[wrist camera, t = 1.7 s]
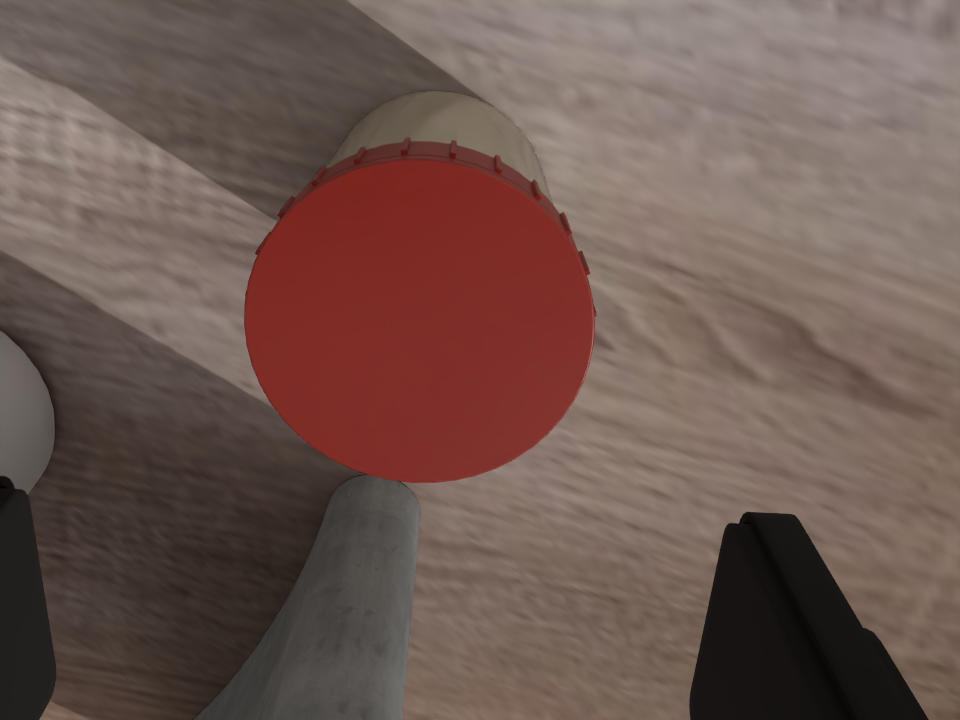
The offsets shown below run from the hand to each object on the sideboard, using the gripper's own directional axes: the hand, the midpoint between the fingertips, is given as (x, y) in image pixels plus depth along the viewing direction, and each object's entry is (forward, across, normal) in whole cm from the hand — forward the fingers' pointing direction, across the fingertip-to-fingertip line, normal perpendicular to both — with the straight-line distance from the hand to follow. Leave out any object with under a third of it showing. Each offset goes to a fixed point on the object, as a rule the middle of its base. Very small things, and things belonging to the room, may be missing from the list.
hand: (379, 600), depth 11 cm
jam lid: (+8, 0, 0) cm, 8 cm away
